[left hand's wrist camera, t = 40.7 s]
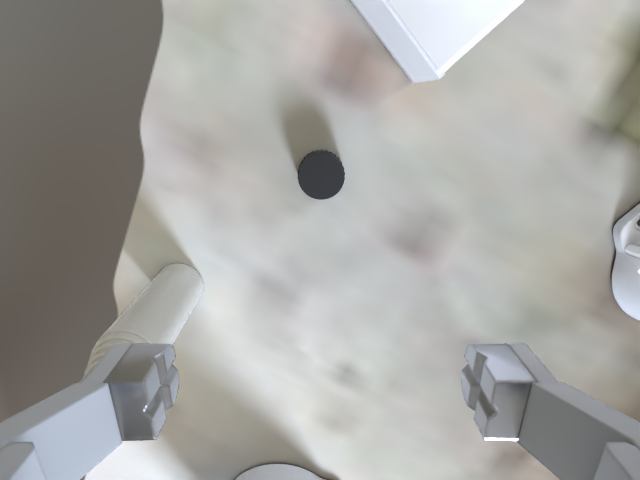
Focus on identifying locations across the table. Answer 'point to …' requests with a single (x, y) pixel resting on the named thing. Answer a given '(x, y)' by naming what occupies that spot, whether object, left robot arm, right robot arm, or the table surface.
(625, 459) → the left robot arm
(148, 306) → the bottle
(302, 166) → the cap
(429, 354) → the table surface
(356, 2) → the butter dish
